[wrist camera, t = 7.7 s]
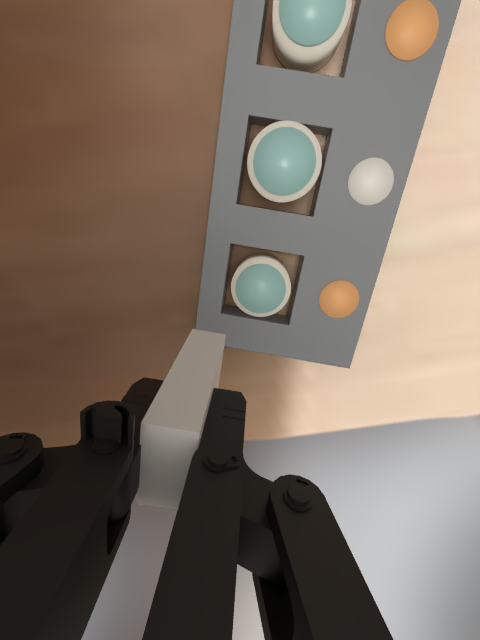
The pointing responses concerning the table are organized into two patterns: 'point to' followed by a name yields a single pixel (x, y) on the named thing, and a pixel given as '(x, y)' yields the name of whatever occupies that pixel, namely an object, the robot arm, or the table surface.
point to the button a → (261, 285)
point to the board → (322, 172)
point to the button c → (308, 31)
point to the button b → (284, 161)
